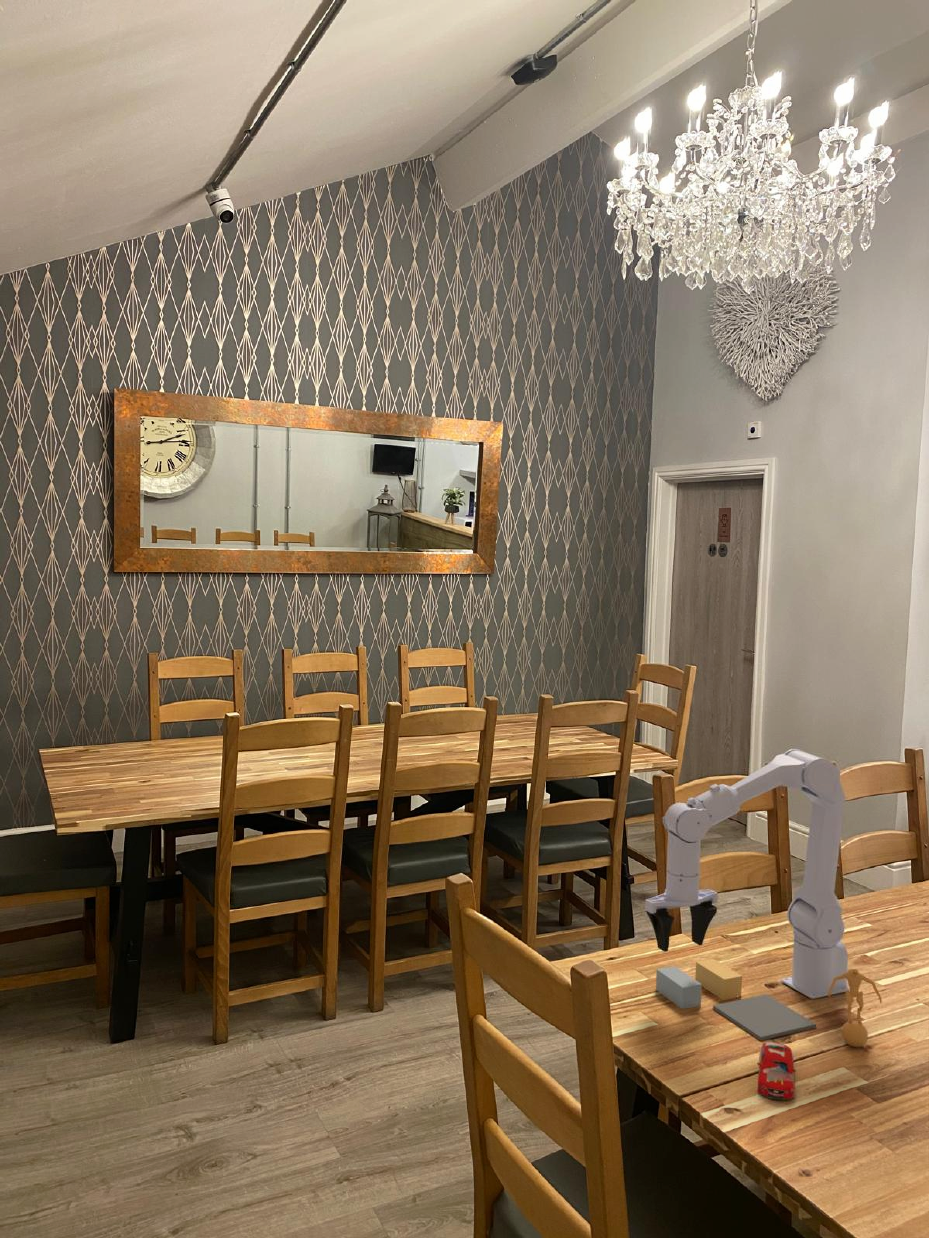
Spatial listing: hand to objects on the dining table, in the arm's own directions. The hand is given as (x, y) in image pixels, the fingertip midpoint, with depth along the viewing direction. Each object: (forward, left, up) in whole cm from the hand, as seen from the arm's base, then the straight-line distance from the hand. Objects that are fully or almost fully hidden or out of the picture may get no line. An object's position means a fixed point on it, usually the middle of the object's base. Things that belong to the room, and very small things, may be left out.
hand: (680, 946), depth 170 cm
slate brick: (0, 0, -10) cm, 10 cm away
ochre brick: (-9, 0, -10) cm, 13 cm away
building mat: (-9, +12, -9) cm, 18 cm away
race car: (+3, +28, -10) cm, 30 cm away
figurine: (-17, +24, -10) cm, 31 cm away
